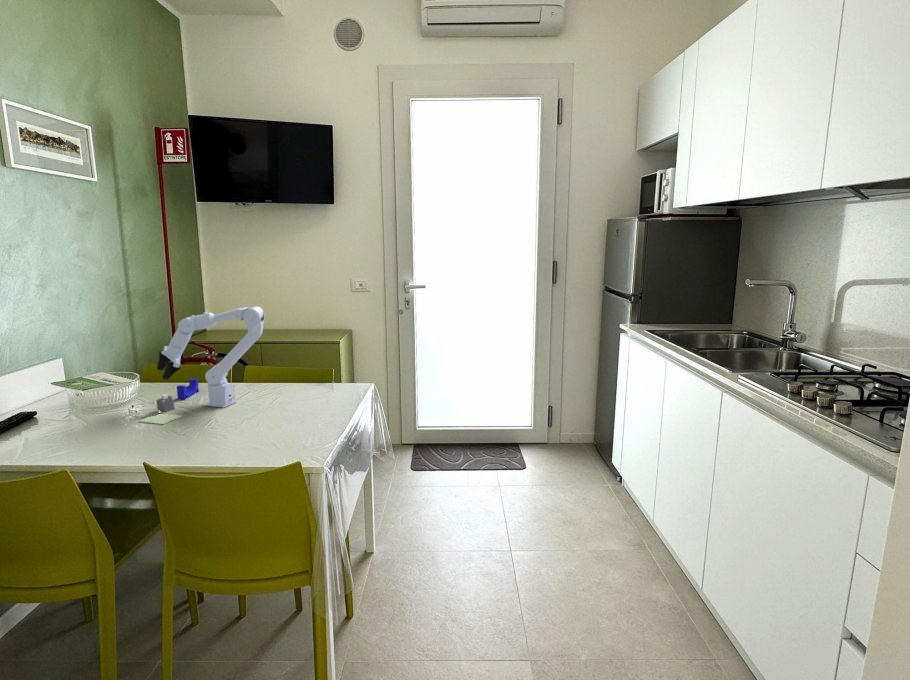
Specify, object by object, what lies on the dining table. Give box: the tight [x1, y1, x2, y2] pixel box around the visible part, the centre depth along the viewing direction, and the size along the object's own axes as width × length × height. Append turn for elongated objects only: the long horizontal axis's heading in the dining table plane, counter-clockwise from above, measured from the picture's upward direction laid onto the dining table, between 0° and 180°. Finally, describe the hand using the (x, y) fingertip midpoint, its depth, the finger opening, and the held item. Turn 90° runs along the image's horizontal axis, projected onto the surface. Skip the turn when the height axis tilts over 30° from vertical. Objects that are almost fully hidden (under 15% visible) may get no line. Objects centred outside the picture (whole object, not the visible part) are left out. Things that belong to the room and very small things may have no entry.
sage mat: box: [138, 413, 183, 425], centre depth 199 cm, size 11×9×1 cm
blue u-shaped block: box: [176, 378, 200, 401], centre depth 228 cm, size 12×4×6 cm, turn 179°
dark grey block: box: [156, 393, 175, 413], centre depth 208 cm, size 3×7×6 cm, turn 164°
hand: (162, 374), depth 212 cm, fingers open, 7 cm apart
